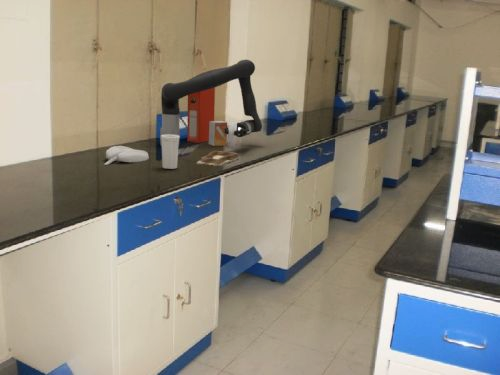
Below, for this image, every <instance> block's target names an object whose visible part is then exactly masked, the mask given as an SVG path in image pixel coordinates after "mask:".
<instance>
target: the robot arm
mask: <svg viewBox="0 0 500 375" xmlns="http://www.w3.org/2000/svg"><path fill="white" fill-rule="evenodd" d="M255 71H256V66H255V64H254V62H253V61H252V60H250V59H241V60H239V61H237V63H235V64H233V65H230V66H226V67H220V68H215V69H210V70H208V71H205V72H202V73H199V74H197V75H195V76H193V77H191V78H190V79H188V80H184V81H181V82H176V83H175V82H174V83H172V82H167V83H165V84H164V85H163V86H162V88H161V93H160V94H161V99H160V100H161V127H160V128H159V130H160V134H159V137H160V138H159V139H160V140H159V142H160V143H159V144H160V146H161V147H162V140H161V135H167V134H170V135H178V136H180V114H181V111H180V103H179V102H180V101H179V100H180V99H182V98H185V97H188V95H190V94H193V93H197V92H202V91H205V90H209V89H212V88H215V89H216V88H217V87H220V86H222V85H225V84H226V83H228V82H231V81H233V80H237V79H238V83H239V88H240V92H241V98H242V99H241V100H242V106H243V113H244V115H245V116H246V117H252V119H247V120H243V121H241V122H237V130H236V131H234V135H235V136H236V138H243V137H246V136H249V135H250V134H252V133H258V132H261V131H262V129H263V124H262V121H261V118H260V117H259V113H258V111H257V102H256V97H255V93H254V92H253V91H254V90H253V88H252V87H253V86H252V84H251V82H252V81H251V76H252V75H253V74H254V73H255ZM228 131H229V127H228V126H227V127H225V132H224V133H225V134H227V135H228ZM178 147H180V144H179V145H178Z"/></svg>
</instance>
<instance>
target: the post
mask: <svg viewBox="0 0 500 375" xmlns="http://www.w3.org/2000/svg"><path fill="white" fill-rule="evenodd" d="M237 123H238V122H236V121H229V122H228V129H229V131H228V134H227V146H228V147H230V148H235V147H236V143H237V136H235V135H234V131H236V130H237Z"/></svg>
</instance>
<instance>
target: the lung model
mask: <svg viewBox="0 0 500 375" xmlns="http://www.w3.org/2000/svg"><path fill="white" fill-rule="evenodd" d="M105 158H106V159H108V160H107V161H106V162H105V163H103V164H104V166H108V165H109V164H111V163H113V162H117V161H118V162H123V163H140V162H142V163H143V162H146V161H148V160H149V159H150V157H149V152H147V151H145V150H141V149H134V148H132V147H129V146H123V145H117V146H116V145H114V146H111V147H109V148H108V149H107V150H106V151H105Z"/></svg>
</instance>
